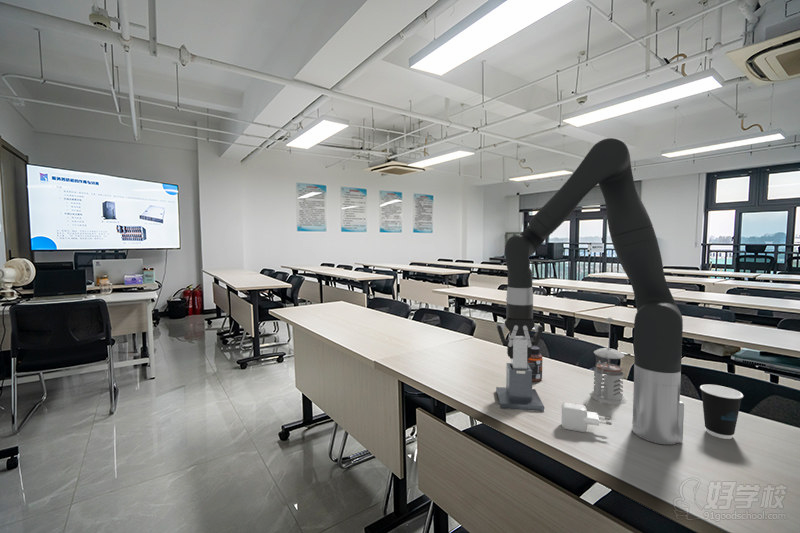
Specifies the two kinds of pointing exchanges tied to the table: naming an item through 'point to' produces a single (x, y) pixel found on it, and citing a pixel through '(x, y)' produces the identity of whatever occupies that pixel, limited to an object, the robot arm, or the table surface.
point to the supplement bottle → (535, 363)
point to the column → (519, 353)
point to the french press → (608, 376)
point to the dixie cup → (720, 410)
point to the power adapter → (580, 417)
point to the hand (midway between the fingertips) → (519, 358)
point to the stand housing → (519, 391)
